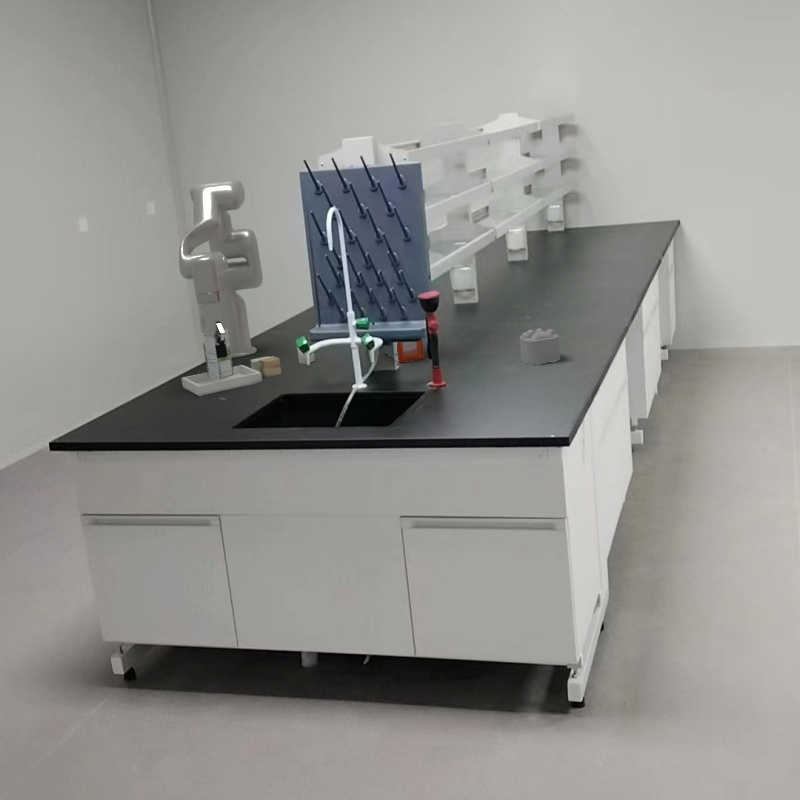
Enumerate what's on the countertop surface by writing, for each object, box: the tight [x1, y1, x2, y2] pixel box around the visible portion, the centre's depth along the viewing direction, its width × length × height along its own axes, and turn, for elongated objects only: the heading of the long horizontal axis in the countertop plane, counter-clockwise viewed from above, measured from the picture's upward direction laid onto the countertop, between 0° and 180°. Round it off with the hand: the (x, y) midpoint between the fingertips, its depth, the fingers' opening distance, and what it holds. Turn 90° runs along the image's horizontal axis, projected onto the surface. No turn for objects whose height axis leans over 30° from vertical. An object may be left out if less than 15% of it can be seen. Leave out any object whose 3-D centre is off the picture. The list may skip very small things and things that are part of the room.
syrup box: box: [201, 329, 234, 379], centre depth 312 cm, size 6×6×14 cm
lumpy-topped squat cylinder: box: [519, 327, 561, 365], centre depth 302 cm, size 10×13×9 cm
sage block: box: [250, 356, 270, 372], centre depth 327 cm, size 4×6×4 cm, turn 113°
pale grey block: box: [296, 346, 316, 365], centre depth 333 cm, size 5×5×6 cm
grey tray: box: [181, 364, 263, 397], centre depth 314 cm, size 16×20×3 cm
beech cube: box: [258, 355, 282, 378], centre depth 321 cm, size 5×5×5 cm
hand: (217, 355), depth 312 cm, fingers closed on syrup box, 7 cm apart
